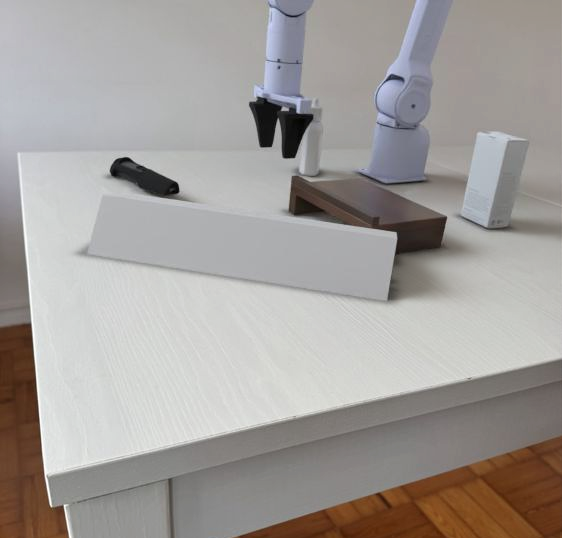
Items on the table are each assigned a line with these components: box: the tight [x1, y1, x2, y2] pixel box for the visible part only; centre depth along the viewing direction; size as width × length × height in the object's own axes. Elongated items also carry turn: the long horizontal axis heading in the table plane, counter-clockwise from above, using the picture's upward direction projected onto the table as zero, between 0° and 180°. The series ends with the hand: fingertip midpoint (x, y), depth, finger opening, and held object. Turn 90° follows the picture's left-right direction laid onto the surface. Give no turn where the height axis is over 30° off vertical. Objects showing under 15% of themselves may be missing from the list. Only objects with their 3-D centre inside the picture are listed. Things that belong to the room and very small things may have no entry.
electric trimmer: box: [109, 156, 181, 197], centre depth 87 cm, size 4×16×3 cm, turn 42°
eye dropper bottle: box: [298, 97, 324, 177], centre depth 100 cm, size 4×6×12 cm
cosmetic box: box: [460, 130, 530, 229], centre depth 84 cm, size 6×4×12 cm
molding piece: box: [86, 192, 397, 302], centre depth 69 cm, size 32×12×10 cm
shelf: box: [287, 175, 448, 255], centre depth 78 cm, size 12×18×5 cm, turn 31°
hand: (277, 152), depth 98 cm, fingers open, 7 cm apart
